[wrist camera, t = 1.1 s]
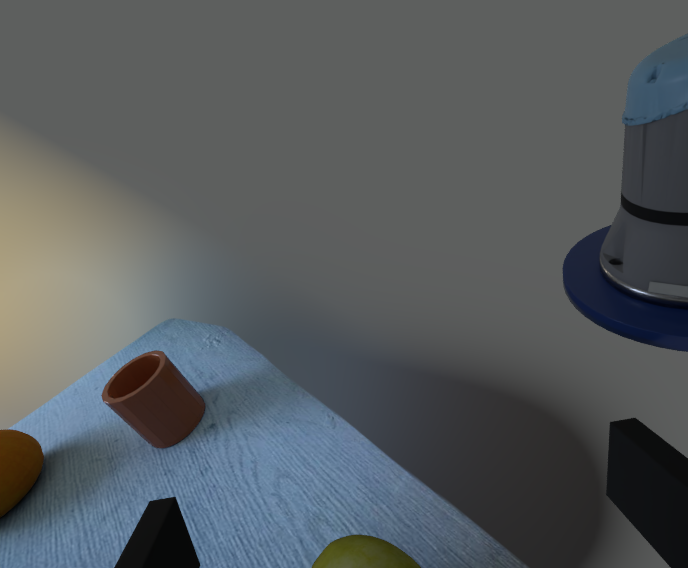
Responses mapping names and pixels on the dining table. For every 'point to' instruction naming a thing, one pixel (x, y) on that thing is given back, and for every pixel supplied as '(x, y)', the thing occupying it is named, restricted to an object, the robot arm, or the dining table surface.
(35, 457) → the fruit
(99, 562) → the dining table surface
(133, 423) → the cup
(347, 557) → the apple
